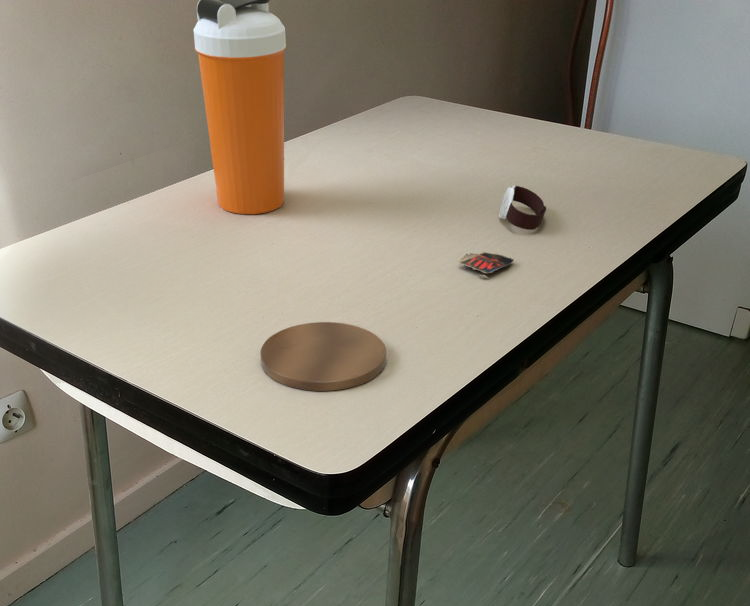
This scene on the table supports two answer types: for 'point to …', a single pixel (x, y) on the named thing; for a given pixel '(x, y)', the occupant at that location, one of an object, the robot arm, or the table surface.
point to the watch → (517, 216)
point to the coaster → (323, 356)
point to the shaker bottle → (243, 101)
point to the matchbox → (485, 262)
